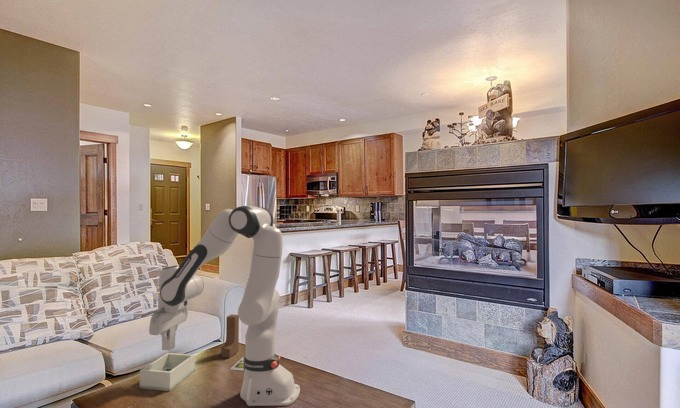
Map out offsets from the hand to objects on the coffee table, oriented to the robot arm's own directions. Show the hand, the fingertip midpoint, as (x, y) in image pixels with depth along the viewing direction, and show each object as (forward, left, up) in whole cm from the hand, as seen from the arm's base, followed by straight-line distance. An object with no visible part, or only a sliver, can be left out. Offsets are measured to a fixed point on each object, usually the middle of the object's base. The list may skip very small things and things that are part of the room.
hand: (168, 338), depth 144 cm
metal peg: (0, 0, -4) cm, 4 cm away
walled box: (0, 0, -17) cm, 17 cm away
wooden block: (-13, -28, -17) cm, 35 cm away
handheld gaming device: (-25, -20, -17) cm, 36 cm away
